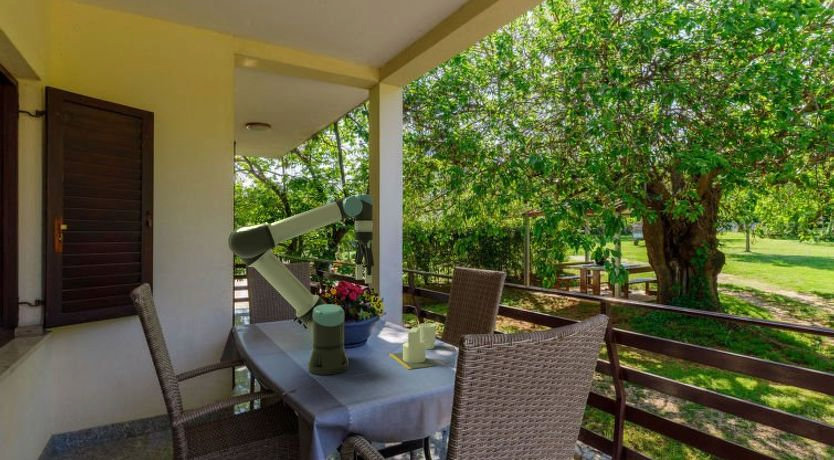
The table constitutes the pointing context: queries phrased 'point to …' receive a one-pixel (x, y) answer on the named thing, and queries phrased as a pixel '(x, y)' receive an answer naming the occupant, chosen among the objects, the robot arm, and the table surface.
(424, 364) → the mat
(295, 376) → the table surface
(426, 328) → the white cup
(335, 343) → the robot arm
